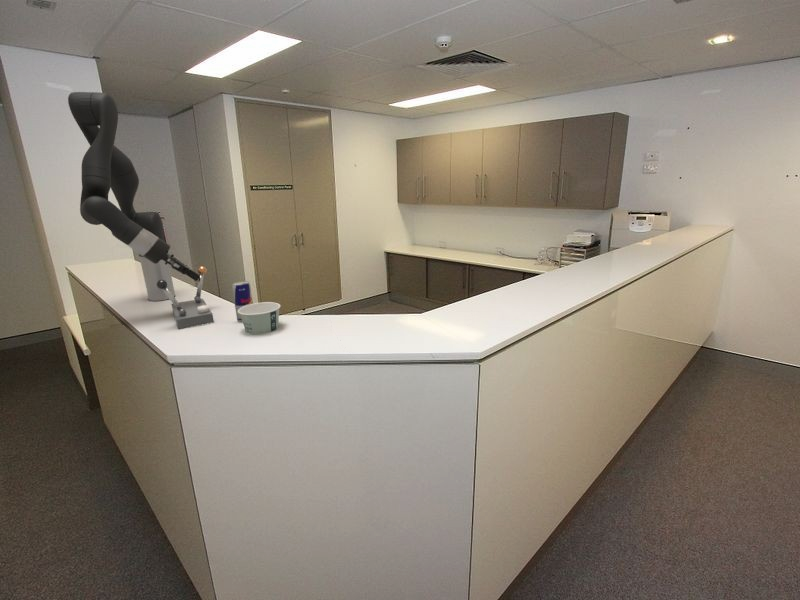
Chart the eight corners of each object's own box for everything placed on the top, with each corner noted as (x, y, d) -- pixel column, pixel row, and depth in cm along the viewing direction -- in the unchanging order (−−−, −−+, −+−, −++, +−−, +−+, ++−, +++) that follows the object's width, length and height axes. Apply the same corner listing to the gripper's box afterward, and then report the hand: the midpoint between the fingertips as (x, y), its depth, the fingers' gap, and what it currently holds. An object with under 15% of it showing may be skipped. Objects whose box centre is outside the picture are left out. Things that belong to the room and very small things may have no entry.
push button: (197, 311, 130) (196, 306, 130) (208, 309, 132) (207, 304, 132) (198, 313, 128) (197, 308, 127) (209, 311, 129) (209, 306, 129)
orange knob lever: (192, 300, 141) (197, 265, 140) (201, 301, 143) (206, 266, 141) (193, 302, 139) (198, 266, 137) (202, 303, 141) (207, 267, 139)
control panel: (172, 312, 142) (171, 303, 141) (204, 306, 147) (202, 298, 146) (178, 329, 124) (176, 319, 123) (213, 322, 129) (212, 313, 128)
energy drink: (249, 322, 127) (243, 285, 124) (233, 322, 128) (227, 285, 125) (258, 317, 132) (253, 281, 129) (243, 316, 133) (237, 281, 130)
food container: (232, 332, 120) (228, 310, 118) (264, 319, 129) (261, 300, 128) (259, 338, 113) (256, 316, 112) (291, 325, 123) (289, 304, 121)
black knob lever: (179, 315, 128) (154, 282, 122) (187, 311, 129) (163, 277, 123) (180, 318, 125) (154, 283, 120) (188, 313, 126) (163, 278, 121)
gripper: (158, 238, 125) (208, 272, 134) (156, 235, 136) (202, 267, 145) (141, 257, 124) (192, 290, 133) (141, 252, 135) (188, 283, 144)
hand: (198, 278), depth 139 cm, fingers closed
